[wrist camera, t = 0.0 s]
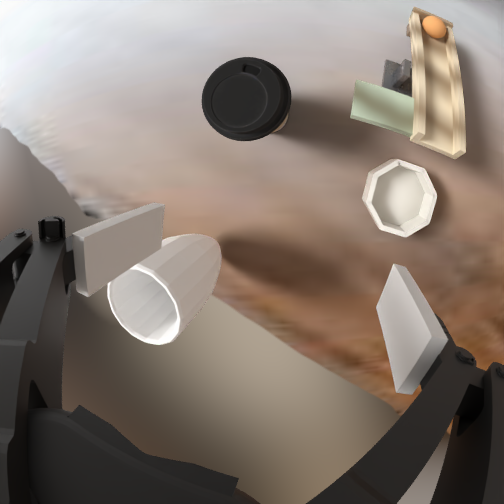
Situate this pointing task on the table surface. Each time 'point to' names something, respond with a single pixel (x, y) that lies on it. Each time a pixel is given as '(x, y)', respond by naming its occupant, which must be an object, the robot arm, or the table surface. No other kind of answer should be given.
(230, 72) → the coffee cup
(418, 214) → the bowl
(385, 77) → the fulcrum
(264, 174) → the table surface
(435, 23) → the ball
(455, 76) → the lever
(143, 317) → the cup
